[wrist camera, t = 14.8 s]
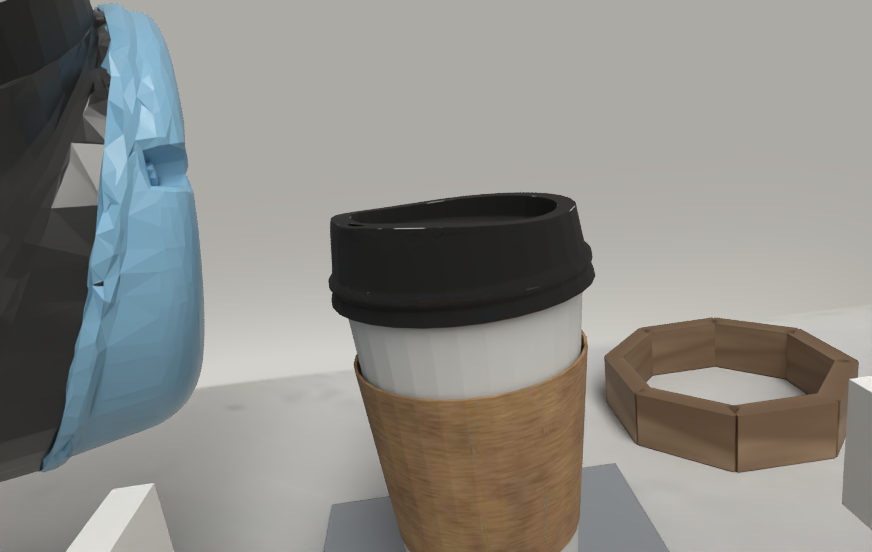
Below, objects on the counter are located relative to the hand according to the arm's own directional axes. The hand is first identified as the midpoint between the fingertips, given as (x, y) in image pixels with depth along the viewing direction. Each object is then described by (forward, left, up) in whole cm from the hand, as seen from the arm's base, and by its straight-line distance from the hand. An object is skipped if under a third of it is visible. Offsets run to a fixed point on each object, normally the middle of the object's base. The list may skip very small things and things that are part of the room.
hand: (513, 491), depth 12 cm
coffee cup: (0, +9, -11) cm, 14 cm away
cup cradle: (+15, +21, -12) cm, 28 cm away
